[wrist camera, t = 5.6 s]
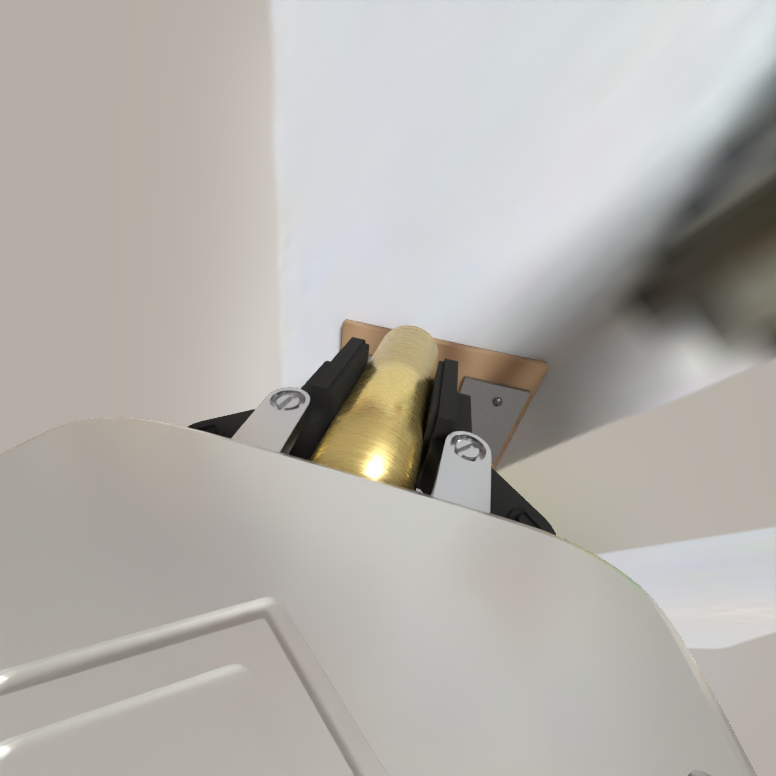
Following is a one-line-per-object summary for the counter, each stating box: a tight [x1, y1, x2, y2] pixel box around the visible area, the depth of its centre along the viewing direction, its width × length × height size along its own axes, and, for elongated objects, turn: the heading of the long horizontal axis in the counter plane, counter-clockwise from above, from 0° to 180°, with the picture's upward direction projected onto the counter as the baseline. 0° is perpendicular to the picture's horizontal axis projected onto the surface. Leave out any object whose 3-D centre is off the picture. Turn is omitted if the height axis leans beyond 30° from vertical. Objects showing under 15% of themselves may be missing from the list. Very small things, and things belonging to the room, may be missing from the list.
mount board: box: [341, 319, 549, 469], centre depth 35 cm, size 22×18×1 cm
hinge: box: [367, 354, 530, 468], centre depth 32 cm, size 21×12×6 cm, turn 81°
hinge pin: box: [309, 325, 438, 491], centre depth 10 cm, size 4×4×10 cm
